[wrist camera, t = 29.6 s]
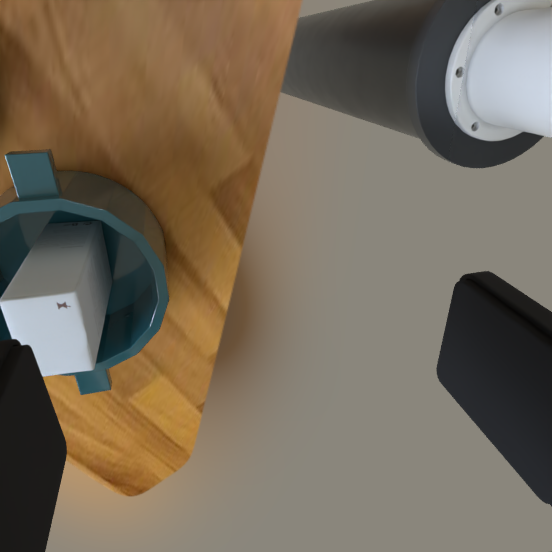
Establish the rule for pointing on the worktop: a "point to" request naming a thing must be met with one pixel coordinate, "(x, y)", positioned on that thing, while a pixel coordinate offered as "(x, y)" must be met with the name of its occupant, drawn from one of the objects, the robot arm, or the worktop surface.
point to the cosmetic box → (61, 297)
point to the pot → (119, 244)
